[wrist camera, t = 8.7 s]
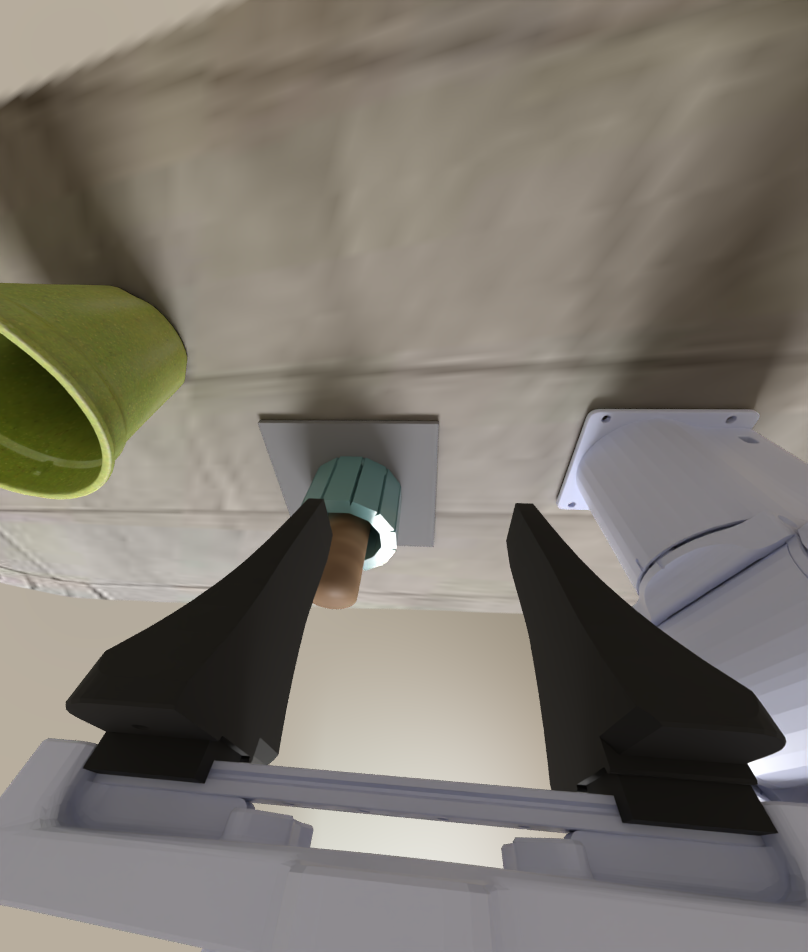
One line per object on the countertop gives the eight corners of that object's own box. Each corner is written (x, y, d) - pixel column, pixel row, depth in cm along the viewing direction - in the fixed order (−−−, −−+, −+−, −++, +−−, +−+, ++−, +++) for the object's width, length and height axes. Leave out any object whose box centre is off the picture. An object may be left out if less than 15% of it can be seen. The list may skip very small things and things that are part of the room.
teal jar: (399, 457, 22) (393, 502, 18) (402, 525, 26) (398, 572, 22) (304, 455, 22) (279, 499, 19) (322, 522, 27) (305, 568, 23)
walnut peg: (373, 482, 23) (353, 579, 16) (377, 512, 25) (360, 609, 18) (332, 482, 23) (296, 577, 17) (339, 512, 25) (309, 608, 18)
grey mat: (438, 421, 20) (438, 424, 20) (433, 543, 28) (433, 546, 28) (260, 420, 21) (257, 423, 21) (300, 538, 29) (299, 542, 28)
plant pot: (133, 214, 15) (-117, 200, 8) (249, 394, 20) (157, 477, 14) (5, 283, 17) (-274, 317, 10) (140, 429, 23) (14, 515, 16)
